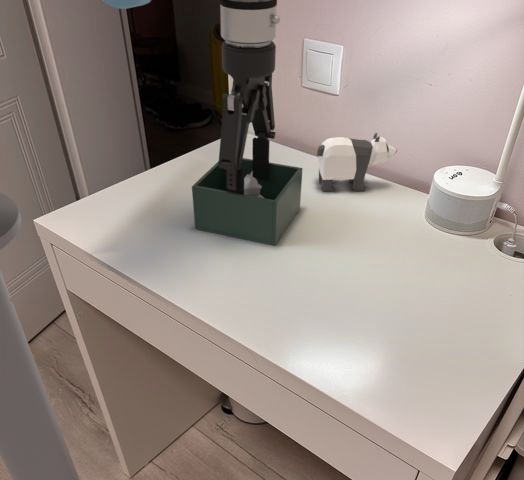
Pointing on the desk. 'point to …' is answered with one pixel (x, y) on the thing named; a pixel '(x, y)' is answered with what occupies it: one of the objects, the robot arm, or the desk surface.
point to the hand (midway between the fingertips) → (248, 191)
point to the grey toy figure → (251, 186)
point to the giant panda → (350, 160)
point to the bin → (248, 204)
